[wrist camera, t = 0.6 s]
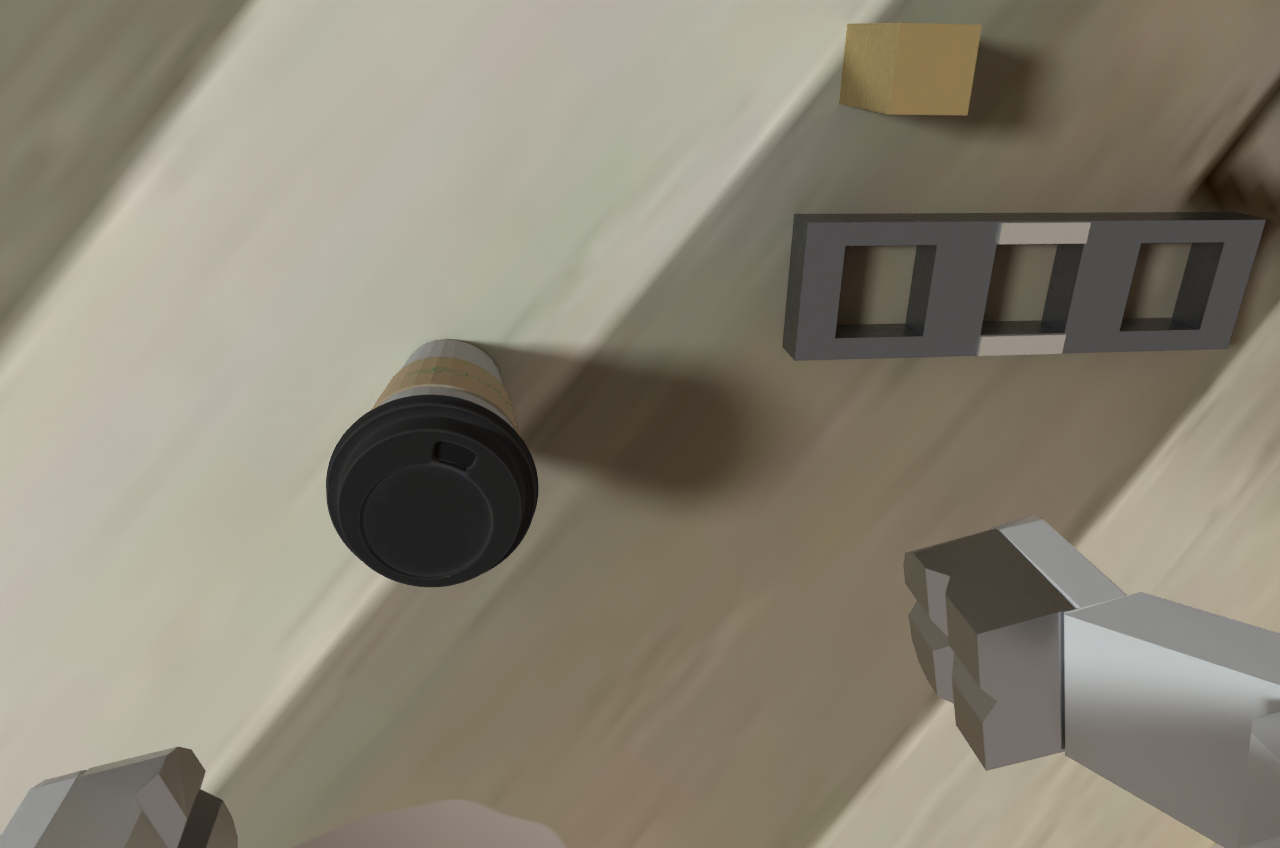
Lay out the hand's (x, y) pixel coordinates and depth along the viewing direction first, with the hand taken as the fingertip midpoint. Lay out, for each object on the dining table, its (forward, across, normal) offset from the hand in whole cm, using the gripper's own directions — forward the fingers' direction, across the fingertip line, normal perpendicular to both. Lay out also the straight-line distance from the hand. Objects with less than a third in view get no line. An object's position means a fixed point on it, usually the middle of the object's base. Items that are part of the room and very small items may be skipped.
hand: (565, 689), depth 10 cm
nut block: (+42, -20, 0) cm, 47 cm away
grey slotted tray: (+42, -27, +14) cm, 52 cm away
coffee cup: (+42, +7, +11) cm, 44 cm away
